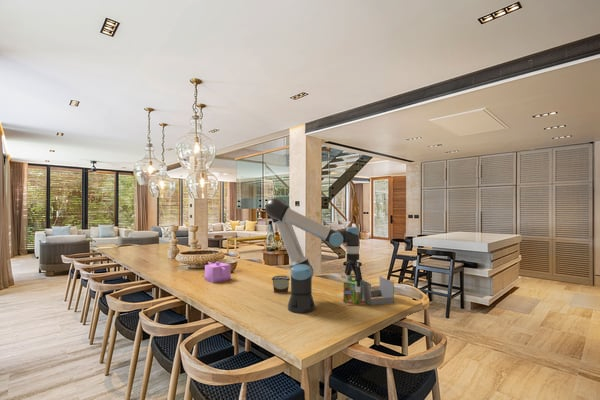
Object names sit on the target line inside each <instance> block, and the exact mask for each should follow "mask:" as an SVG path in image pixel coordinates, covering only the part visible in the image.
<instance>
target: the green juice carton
mask: <svg viewBox="0 0 600 400" xmlns="http://www.w3.org/2000/svg"><path fill="white" fill-rule="evenodd" d="M355 280H356V278H355V275H351V276H350V280H347V281H346V280H345V281H344V282H343V295H342V296H343V298H342V299H343V301H342V302H344V303H345V302H348V303H353V304H359V303H360V302H361V301H363V300H362V294H363V282H362V281H360V290H361V292H356V284H355Z"/></svg>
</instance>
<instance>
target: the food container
mask: <svg viewBox="0 0 600 400" xmlns="http://www.w3.org/2000/svg"><path fill="white" fill-rule="evenodd" d="M271 281H272V286H273V293H275V294H276V293H279V294H281V293H282V294H283V293H284V294H288V293H289V288H290V287H289V286H290V281H291V277H290V276H288V275H275V276H273V277H271Z"/></svg>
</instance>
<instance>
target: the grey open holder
mask: <svg viewBox="0 0 600 400" xmlns="http://www.w3.org/2000/svg"><path fill="white" fill-rule="evenodd" d="M361 281H362V282H363V294H362V301H363V302H365V303H366V304H367V305H369V306H377V305H387V304H388V305H389V304H394V303H395V290H394V289H395V282H393V281H391V280H390V279H387V278H385V277H383V276H381V275H379V289H374V290H373V289H372V284H371V283H370V282H368V281H366V280H364V279H362V280H361ZM377 296H380V297H377ZM372 297H377V298H372Z"/></svg>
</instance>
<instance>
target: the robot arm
mask: <svg viewBox="0 0 600 400" xmlns="http://www.w3.org/2000/svg"><path fill="white" fill-rule="evenodd" d="M264 208H265V212H266V214H267V216H269V217H270V218H271V220H272V223H273V224H274V225H276V227H277V229H278V231H279V234H280V237H281V239H282V242H283V244H284V247H285V250H286V251H287V255H288V257H289V260H290V263H289V267H290V273H289V274H290V296H289V301H288V302H287V310H288V311H290V312H292V313H295V314H296V313H297V314H307V313H312V312H314V311H315V310H316V303H315V299H314V297H313V293H312V280H313V277H314V268H313V266H312V265H311V264H310V261H309V258H308V257H306V256H305V255H304V252H303V249H302V247H301V245H300V241H299V240H298V237H297V234H296V232H295V229H294V227H296V228H298V229H300V230H302V231H304V232H306V233H309V234H310V235H313V236H314V237H316V238H319V239H320V240H323V241H325V242H326V243H328V244H330V245H332V246H333V247H337V248H338V247H340V246H342V245H343V244H345V245H346V248H345V249H346V256H345V257H346V265H345V268H344V274H345V275H346V277H345V278H346V279H345V281H347V280H350V276H352V271H353V274H354V276H355V278H356V280H355V278H354V280H355V284H356V292H361V290H360V281H361V280H363V276H362V272H361V271H362V270H361V265H360V264H361V263H360V262H358V261H359V260H360V248H361V247H360V229H359V227H358V226H347V227H346V228H345V229H344V230H336V229H335V230H334V229H331V228H330V227H328V226H326V225H324V224H322V223H320V222H317V221H315V220H314V219H311V218H309V217H307V216H306V215H303V214H302V213H300V212H298V211H295V210H294V209H291V206H289V204H288V202H287V201H285V200H284V199H283V198H271V199H269V200H268V201H267V202H266V205H265V207H264ZM293 226H294V227H293Z"/></svg>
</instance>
